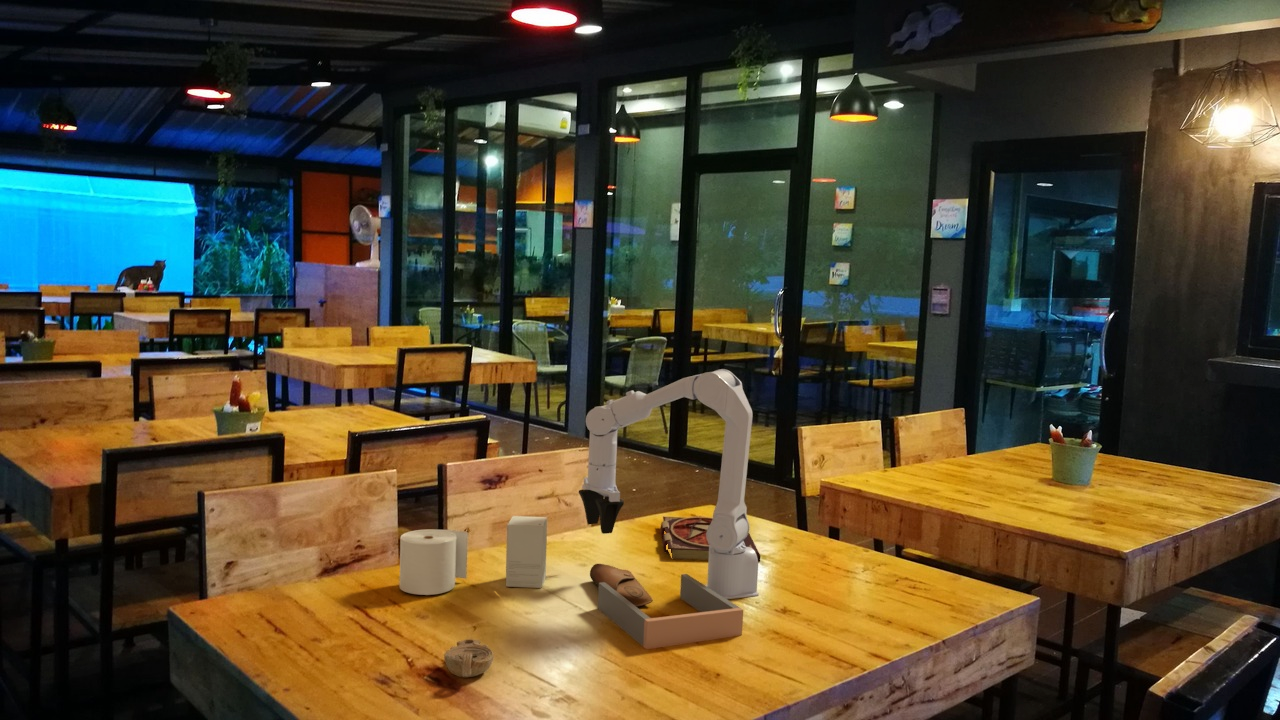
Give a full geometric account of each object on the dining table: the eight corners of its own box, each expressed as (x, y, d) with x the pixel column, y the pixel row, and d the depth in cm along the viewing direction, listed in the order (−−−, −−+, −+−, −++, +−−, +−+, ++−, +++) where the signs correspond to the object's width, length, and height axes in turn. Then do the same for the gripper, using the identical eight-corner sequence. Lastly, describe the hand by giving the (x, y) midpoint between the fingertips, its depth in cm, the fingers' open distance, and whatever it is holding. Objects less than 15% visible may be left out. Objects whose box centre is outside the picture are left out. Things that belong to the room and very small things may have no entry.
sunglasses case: (656, 600, 181) (635, 574, 179) (627, 625, 180) (606, 599, 178) (629, 570, 198) (610, 547, 197) (603, 593, 197) (583, 570, 195)
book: (759, 566, 213) (761, 544, 213) (664, 563, 213) (665, 540, 212) (743, 532, 241) (744, 513, 241) (659, 529, 241) (660, 509, 240)
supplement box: (546, 577, 197) (548, 516, 196) (541, 589, 190) (544, 525, 189) (510, 575, 197) (512, 514, 196) (504, 587, 190) (506, 523, 189)
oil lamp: (448, 655, 155) (449, 625, 155) (495, 656, 156) (496, 626, 156) (438, 690, 142) (439, 657, 142) (489, 691, 143) (490, 658, 142)
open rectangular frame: (685, 599, 187) (686, 573, 187) (741, 637, 168) (743, 609, 168) (597, 609, 180) (598, 582, 179) (646, 650, 161) (647, 621, 160)
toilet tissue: (387, 590, 185) (388, 538, 184) (424, 573, 196) (425, 524, 196) (434, 599, 181) (436, 546, 180) (469, 581, 192) (470, 532, 192)
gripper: (571, 457, 204) (568, 520, 205) (598, 471, 191) (595, 538, 192) (602, 456, 207) (599, 518, 208) (630, 469, 194) (627, 536, 195)
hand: (599, 528), depth 201 cm, fingers open, 7 cm apart
